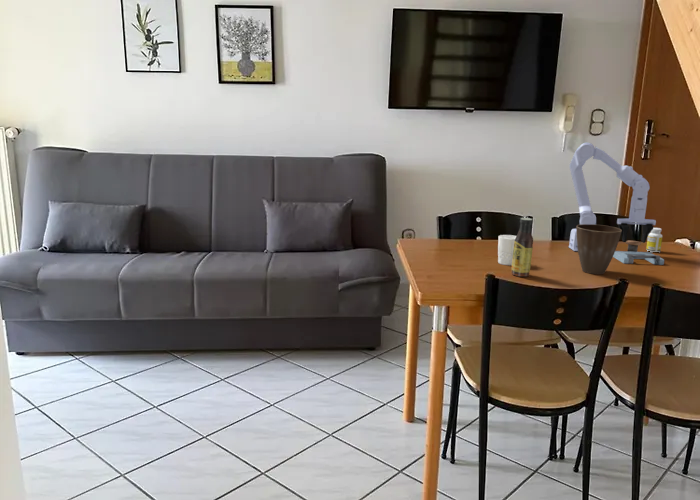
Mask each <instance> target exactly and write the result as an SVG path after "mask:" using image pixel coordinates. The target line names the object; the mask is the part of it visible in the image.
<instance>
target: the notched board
mask: <svg viewBox="0 0 700 500" xmlns="http://www.w3.org/2000/svg"><path fill="white" fill-rule="evenodd" d="M628 254H632V255H653V256H654V255H655V253H653V252H648V251H637V252H633V251H627V250H615V253H614V255H613V257H612V258H614V259H616V260H617V261H618V262H621V263H622V264H628V261H629V258H627V255H628ZM634 259H635V260H645V261H647V262H649V263H651V264H653V265H655V264H656V263H657V262H659V261H657V262H655V260H656V259H654V258H633V260H632V262H633V263H632V264H634V261H635V260H634ZM632 264H631V265H632ZM664 264H665V259H664V258H662V257H660V262H659V265H658V266H662V265H663V266H664Z"/></svg>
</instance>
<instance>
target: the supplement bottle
mask: <svg viewBox="0 0 700 500" xmlns="http://www.w3.org/2000/svg"><path fill="white" fill-rule="evenodd" d="M661 232H662V228H660V227H654V228H653V229H652V231H651V232H650V233H649V235H648V237H647V239H646V241H647V242H646V250H647V251H646V252H648V251H650V253H653V252H659V253H661V250H662V243H663V234H661Z"/></svg>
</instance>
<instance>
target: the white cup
mask: <svg viewBox="0 0 700 500" xmlns="http://www.w3.org/2000/svg"><path fill="white" fill-rule="evenodd" d="M516 236H517V235H512V234H500V235H498V242H497V243H498V244H497V256H498V257H497V262H498V263H497V264H500V265H504V266H512V259H513V249H514V241H515V239H516Z"/></svg>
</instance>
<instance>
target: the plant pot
mask: <svg viewBox="0 0 700 500" xmlns="http://www.w3.org/2000/svg"><path fill="white" fill-rule="evenodd" d="M575 229H576V234H577V247H578V251H577V254H578V257H579V258H578V259H579V263H580V267H581V270H582V272H585V273H587V274H591V275H592V274H593V275H603V274H605V273H606V271H607V269H608V267H609V266H610V263H611V261H612V259H613V258H614V257H613V255H614V253H615V251H617V248H618V244H619V242H620V239H621V236H622V234H621V232H622V230H621V229H620V228H619V227H615V226H609V225H603V224H596V225H594V224H581V225H580V224H577V225H576V227H575Z"/></svg>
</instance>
